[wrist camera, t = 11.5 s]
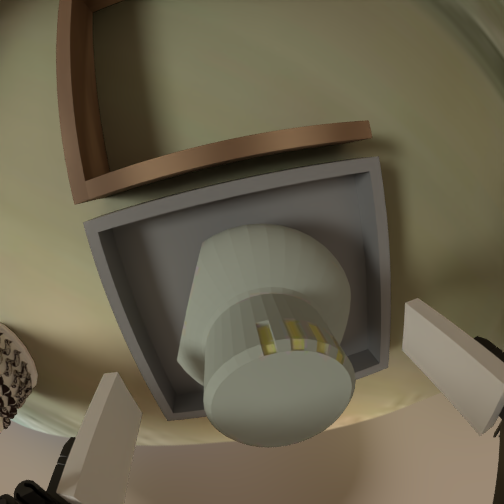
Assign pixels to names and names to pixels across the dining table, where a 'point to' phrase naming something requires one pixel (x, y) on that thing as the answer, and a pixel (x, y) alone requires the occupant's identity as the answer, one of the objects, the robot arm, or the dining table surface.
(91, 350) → the dining table surface
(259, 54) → the dining table surface
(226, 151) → the walnut bay
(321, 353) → the air freshener
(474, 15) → the dining table surface
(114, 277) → the charcoal tray
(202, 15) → the dining table surface
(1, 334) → the decorative candle
